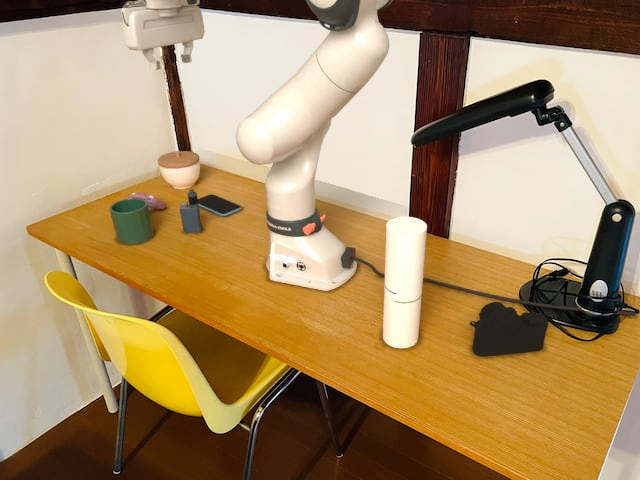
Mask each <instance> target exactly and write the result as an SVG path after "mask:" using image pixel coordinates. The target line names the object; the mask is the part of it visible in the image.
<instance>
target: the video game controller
mask: <svg viewBox="0 0 640 480" xmlns="http://www.w3.org/2000/svg"><path fill="white" fill-rule="evenodd" d="M131 198H138V199H143V200H146V201H147V203H148V207H149V211H150V213H153V212H154V211H155V210H162V211H163V210H165V209H166V208H167V203H166V202H165V201H164V200H161V199H159V198H157V197H155V196H154V195H152V194H148V193H145V192H137V193H135V192H132V193H131V194H130V195H129V196H128V197H127V199H131Z"/></svg>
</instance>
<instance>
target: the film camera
mask: <svg viewBox="0 0 640 480" xmlns="http://www.w3.org/2000/svg"><path fill="white" fill-rule="evenodd" d="M478 316H479V317H478V318H479V319H478V320H477V321H476V320H471V321H470V322H469V326H471V327H473V328H474V332H473V333H474V334H473V340H472V347H471V350H472V352H473V354H474V355H475V356H478V357H479V358H481V357H496V356H497V357H498V356H506V355H508V356H509V355H517V354H526V353H533V352H534V353H535V352H540V351H542V350H543V348H544V343H545V340H546V335H547V330H548V327H549V322H550V321H549V319H548V317H546V316H545V314H544V313H541V312H538V313H536V312H535V310H533V309H531V310H530V311H529V312H528V311H525V312H522V313H521V314H518V311H517V310H516V309H515V308H514V307H512V306H505V305H504V304H503V303H502V302H500V301H491V302H489V303H486V304H485V305H484V306H482V308H480V311H479V313H478Z"/></svg>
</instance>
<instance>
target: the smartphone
mask: <svg viewBox="0 0 640 480" xmlns="http://www.w3.org/2000/svg"><path fill="white" fill-rule="evenodd" d="M198 204H199V207H201V208H203V209H205V210H207V211H210V212H212V213H214V214H216V215H217V216H220V217H227V216H229V215H232V214H234V213H236V212H238V211H241V210H242V209H243V206H241V205H240V204H237V203H235V202H233V201H230V200H228V199H225V198H223V197H220V196H219V195H215V194H212V193H211V194H207V195H205V196H202V197H200V198H198Z"/></svg>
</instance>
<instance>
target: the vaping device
mask: <svg viewBox="0 0 640 480" xmlns="http://www.w3.org/2000/svg"><path fill="white" fill-rule="evenodd" d="M186 194H187V200H188V201H182V202H180V204H179V205H180V206H179V215H180V219H181V226H182V229H183V231H184V232H185V233H191V234H195V233H196V234H199V233H202V231H203V223H202V219H201V210H200V209H201V208H200V206H199V204H198V199H199V198H198V193H197V192H196V191H195V190H194V189H193V188H190V189H188V192H187V193H186Z"/></svg>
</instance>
